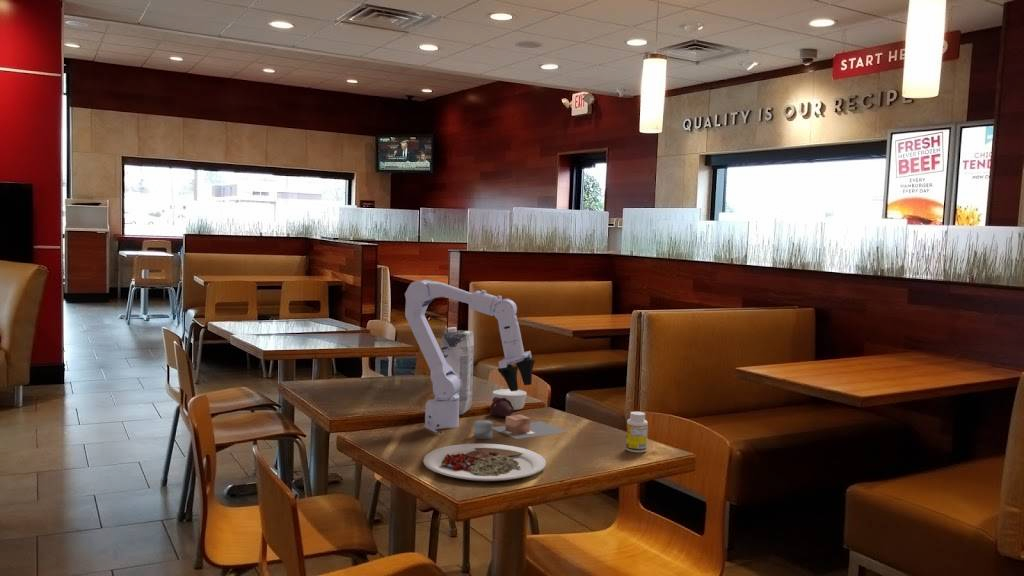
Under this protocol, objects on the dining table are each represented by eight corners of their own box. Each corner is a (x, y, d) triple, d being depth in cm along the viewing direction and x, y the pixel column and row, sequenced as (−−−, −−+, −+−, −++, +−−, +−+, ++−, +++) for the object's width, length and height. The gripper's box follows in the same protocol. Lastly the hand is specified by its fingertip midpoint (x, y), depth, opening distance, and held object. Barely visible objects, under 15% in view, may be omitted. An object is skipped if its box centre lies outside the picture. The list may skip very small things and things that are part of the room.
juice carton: (473, 409, 255) (476, 326, 253) (463, 416, 245) (466, 330, 243) (447, 407, 257) (450, 325, 255) (437, 413, 247) (439, 328, 245)
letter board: (516, 442, 216) (516, 438, 216) (489, 430, 228) (489, 427, 228) (568, 435, 226) (568, 431, 226) (540, 424, 237) (540, 421, 237)
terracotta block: (514, 434, 221) (515, 420, 221) (505, 430, 225) (505, 416, 225) (529, 432, 224) (530, 418, 223) (520, 428, 228) (520, 414, 228)
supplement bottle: (628, 446, 216) (630, 409, 215) (648, 449, 213) (650, 412, 213) (623, 451, 210) (624, 413, 210) (643, 454, 208) (645, 416, 208)
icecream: (524, 403, 237) (506, 397, 251) (501, 398, 235) (485, 392, 249) (518, 425, 237) (501, 418, 251) (496, 420, 234) (479, 414, 248)
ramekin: (487, 405, 263) (487, 389, 262) (517, 403, 267) (518, 388, 267) (499, 412, 252) (500, 396, 252) (531, 410, 257) (532, 394, 256)
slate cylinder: (479, 443, 214) (480, 425, 213) (470, 439, 218) (471, 421, 218) (495, 441, 216) (496, 423, 216) (486, 437, 221) (486, 419, 220)
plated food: (569, 477, 188) (570, 463, 187) (455, 493, 173) (456, 478, 172) (507, 445, 213) (508, 433, 213) (404, 458, 199) (404, 445, 198)
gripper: (509, 344, 215) (519, 392, 215) (536, 334, 227) (545, 380, 228) (489, 347, 219) (498, 394, 219) (516, 337, 231) (525, 383, 231)
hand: (521, 387), depth 224 cm, fingers open, 7 cm apart
